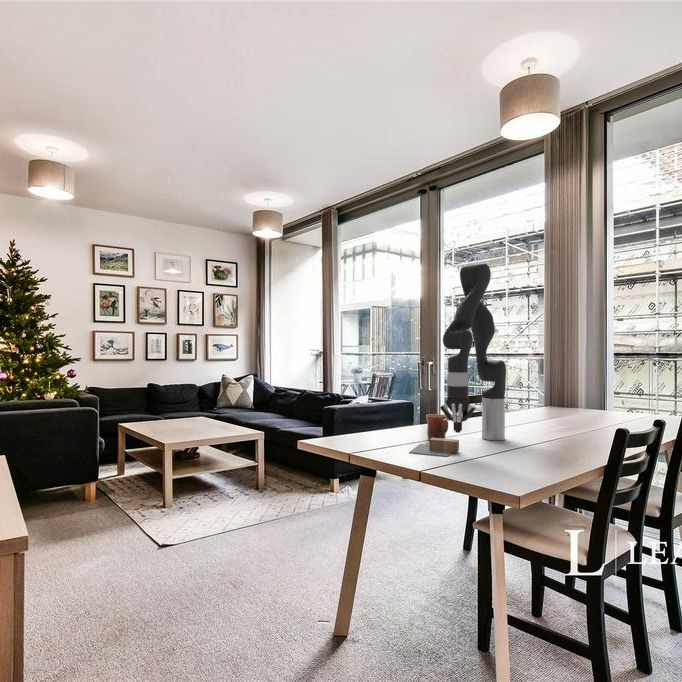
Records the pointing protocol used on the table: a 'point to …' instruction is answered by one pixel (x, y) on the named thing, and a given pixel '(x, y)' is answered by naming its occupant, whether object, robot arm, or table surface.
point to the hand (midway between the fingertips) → (457, 432)
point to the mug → (436, 426)
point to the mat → (428, 451)
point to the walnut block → (444, 445)
